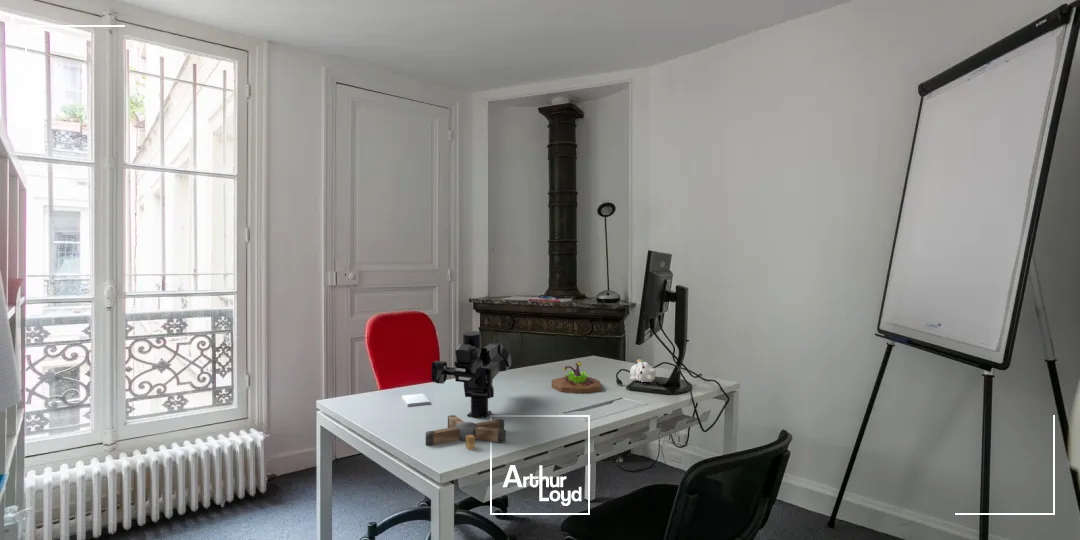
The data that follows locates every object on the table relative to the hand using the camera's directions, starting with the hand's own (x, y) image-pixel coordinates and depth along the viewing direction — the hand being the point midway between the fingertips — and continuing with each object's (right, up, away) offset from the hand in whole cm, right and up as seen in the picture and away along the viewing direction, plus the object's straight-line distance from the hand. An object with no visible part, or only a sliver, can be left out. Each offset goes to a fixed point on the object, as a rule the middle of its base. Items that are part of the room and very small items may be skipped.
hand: (452, 383), depth 159 cm
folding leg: (+11, -16, +1) cm, 20 cm away
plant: (+40, -15, +63) cm, 76 cm away
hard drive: (-20, -16, +42) cm, 49 cm away
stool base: (+3, -16, +4) cm, 17 cm away
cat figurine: (+68, -14, +72) cm, 100 cm away
